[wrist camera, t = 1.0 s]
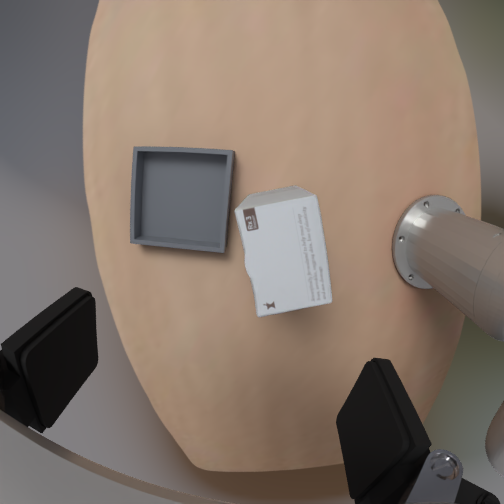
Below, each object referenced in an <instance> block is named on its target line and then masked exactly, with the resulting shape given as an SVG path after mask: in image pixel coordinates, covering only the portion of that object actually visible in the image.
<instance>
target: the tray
mask: <svg viewBox="0 0 504 504" xmlns="http://www.w3.org/2000/svg"><path fill="white" fill-rule="evenodd" d="M234 155H235V151H233V150H220V149H204V148H182V147H134V149H133V163H132V180H131V209H130V243H133V244H142V245H152V246H162V247H171V248H181V249H191V250H201V251H211V252H220V253H224V251H225V249H226V246H227V234H228V221H229V210H230V198H231V187H232V176H233V165H234Z"/></svg>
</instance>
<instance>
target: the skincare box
mask: <svg viewBox="0 0 504 504" xmlns="http://www.w3.org/2000/svg"><path fill="white" fill-rule="evenodd" d="M234 212H235V216H236V219H237V224H238V228H239V232H240V236H241V240H242V245H243V249H244V253H245V267H246V271H247V274H248V275H249V277H250V280H251V284H252V289H253V294H254V299H255V306H256V313H257V316H258V317H263V316H268V315H274V314H279V313H284V312H289V311H294V310H298V309H303V308H307V307H313V306H318V305H323V304H328V303H331V302H332V292H331V282H330V273H329V264H328V257H327V250H326V243H325V238H324V231H323V225H322V219H321V213H320V208H319V203H318V199H317V196H316V195H315V194H313V193H311V192H309V191H307V190H305V189H303V188H300V187H298V186H296V185H295V186H290V187H284V188H279V189H274V190H269V191H264V192H259V193H254V194H249V195H248V196H247V197H246V198H245V199H244V200H243V201H242V203H241V204H240V205H239V206H238V207H237V208H236V209H235V211H234Z"/></svg>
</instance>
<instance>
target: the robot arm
mask: <svg viewBox="0 0 504 504" xmlns="http://www.w3.org/2000/svg"><path fill="white" fill-rule="evenodd" d="M399 237H400V239H399ZM392 251H393V259H394V263H395V266H396V268H397V270H398V272H399V274H400V275H401V276H402V277H403V279H405V280H406V281H407V282H408V283H409V284H411V285H413V286H414V287H417V288H421V289H431V288H434V289H435V290H437V291H438V292H439V293H440V294H442V295H443V296H444V297H445V298H446V299H448V300H449V301H450V302H451V303H452V304H453V305H455V306H456V307H457V308H458V309H459V310H460V311H462V312H463V313H464V314H465V315H466V316H467V317H469V318H470V319H471V320H472V321H473V322H474V323H476V324H477V325H478V326H479V327H480V328H481V329H483V331H485V332H486V333H487V334H488V335H489V336H491V337H492V338H494V339H496V340H500V341H504V229H502V228H499V227H497V226H494V225H491V224H489V223H486V222H483V221H480V220H477V219H474V218H471V217H469V216H466V215H465V214H464V212H463V210H462V208H461V207H460V206H459V205H458V204H457V203H456V202H455V201H453V200H452V199H450V198H448V197H445V196H441V195H428V196H424V197H422V198H420V199H418V200H416V201H415V202H413V203H412V204H411V205H410V206H409V207H408V208H407V209H406V210H405V212H404V213H403V214H402V216H401V218H400V219H399V221H398V224H397V226H396V229H395V232H394V236H393V245H392ZM95 307H96V306H95V298H94V297H92V294H91V292H89V291H86V290H83V289H81V288H78V287H75V288H73V289H72V290H71V291H69V292H68V293H67V294H65V295H64V296H63V297H61V298H60V299H58V300H57V301H55V302H54V303H53V304H51V305H50V306H49V307H47V308H46V309H45V310H43V311H42V312H41V313H39V314H38V315H37V316H36V317H34V318H33V319H32V320H30V321H29V322H28V323H27V324H25V325H24V326H23V327H22V328H20V329H19V330H18V331H16V332H15V333H14V334H13V335H11V336H10V337H9V338H8V339H6V340H5V341H4V342H3V343H2V344H1V346H2V350H1V351H0V504H237V503H231V502H225V501H219V500H214V499H208V498H204V497H199V496H195V495H190V494H186V493H182V492H178V491H175V490H171V489H167V488H164V487H160V486H157V485H154V484H151V483H147V482H144V481H141V480H139V479H136V478H133V477H130V476H127V475H125V474H122V473H119V472H117V471H114V470H112V469H109V468H107V467H104V466H102V465H100V464H97V463H95V462H93V461H90V460H88V459H86V458H84V457H82V456H80V455H78V454H76V453H73V452H71V451H69V450H68V449H65V448H64V447H62V446H60V445H58V444H56V443H54V442H52V441H51V440H49V439H47V438H45V437H43V436H42V435H40V434H38V433H36V432H35V431H33V430H31V429H30V428H28V426H30V427H32V428H34V429H35V430H37V431H38V432H40V433H43V431H44V430H45V429H46V428H50V427H52V425H53V424H54V423H55V421H56V420H57V419H58V417H59V416H60V414H61V413H62V412H63V410H64V409H65V408H66V406H67V405H68V404H69V402H70V400H71V399H72V398H73V397H74V395H75V394H76V393H77V391H78V390H79V389H80V388H81V386H82V385H83V384H84V382H85V381H86V380H87V378H88V377H89V376H90V374H91V373H92V372H93V371H94V369H95V368H96V366H97V363H98V349H97V336H96V335H97V334H96V308H95ZM336 424H337V429H338V434H339V439H340V444H341V449H342V454H343V460H344V465H345V470H346V476H347V482H348V487H349V492H350V497H351V498H352V499H355V504H500V502H499V500H498V498H497V497H496V496H495V495H493V494H492V493H490V492H488V491H486V490H484V489H482V488H480V487H478V486H476V485H475V484H472V483H471V482H469V481H467V480H465V479H463V478H462V475H463V467H462V463H461V462H460V460H459V459H458V458H457V456H456V455H454V454H452V453H451V452H449V451H447V450H441V449H438V450H434V451H432V452H431V453H430V450H429V447H430V446H431V442H430V440H429V438H428V435H427V433H426V431H425V429H424V427H423V425H422V422H421V420H420V418H419V416H418V414H417V412H416V410H415V408H414V406H413V404H412V402H411V400H410V398H409V396H408V394H407V392H406V390H405V388H404V386H403V384H402V382H401V380H400V378H399V376H398V374H397V372H396V371H395V369H394V367H393V365H392V363H391V361H390V360H388V359H381V358H373V359H372V360H371V361H368V362H366V364H365V366H364V368H363V370H362V372H361V373H360V375H359V377H358V379H357V381H356V383H355V385H354V387H353V389H352V390H351V392H350V394H349V396H348V398H347V400H346V401H345V403H344V405H343V407H342V408H341V410H340V412H339V413H338V416H337V420H336ZM485 449H486V454H487V457H488V459H489V462H490V463H491V465H492V466H493V468H494V469H495V470H496V471H497V472H498V473H499V474H500V475H501V476H502V477H504V401H503V403H502V404H501V406H500V408H499V409H498V411H497V413H496V415H495V416H494V418H493V420H492V422H491V424H490V426H489V428H488V431H487V435H486V440H485Z"/></svg>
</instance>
